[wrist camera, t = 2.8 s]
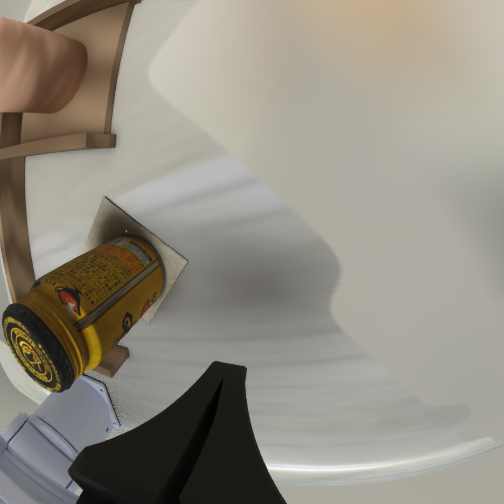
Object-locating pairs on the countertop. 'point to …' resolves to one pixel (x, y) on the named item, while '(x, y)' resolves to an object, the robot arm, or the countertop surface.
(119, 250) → the condiment
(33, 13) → the countertop surface
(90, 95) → the caddy
